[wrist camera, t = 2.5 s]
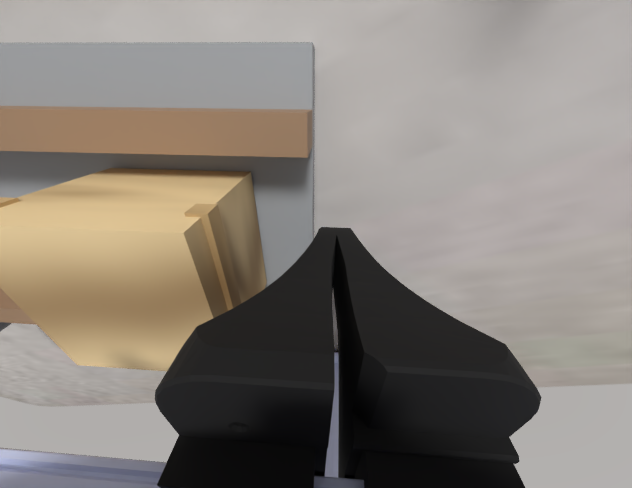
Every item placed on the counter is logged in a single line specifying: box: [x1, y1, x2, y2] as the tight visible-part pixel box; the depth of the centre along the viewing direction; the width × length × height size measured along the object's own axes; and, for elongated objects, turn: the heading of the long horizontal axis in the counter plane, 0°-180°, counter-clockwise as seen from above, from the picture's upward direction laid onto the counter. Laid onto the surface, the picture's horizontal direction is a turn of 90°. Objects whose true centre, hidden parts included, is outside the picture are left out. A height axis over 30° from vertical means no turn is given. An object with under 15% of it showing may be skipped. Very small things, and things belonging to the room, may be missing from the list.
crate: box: [0, 168, 267, 371], centre depth 9 cm, size 6×6×5 cm
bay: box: [0, 42, 315, 331], centre depth 10 cm, size 14×21×5 cm, turn 89°
